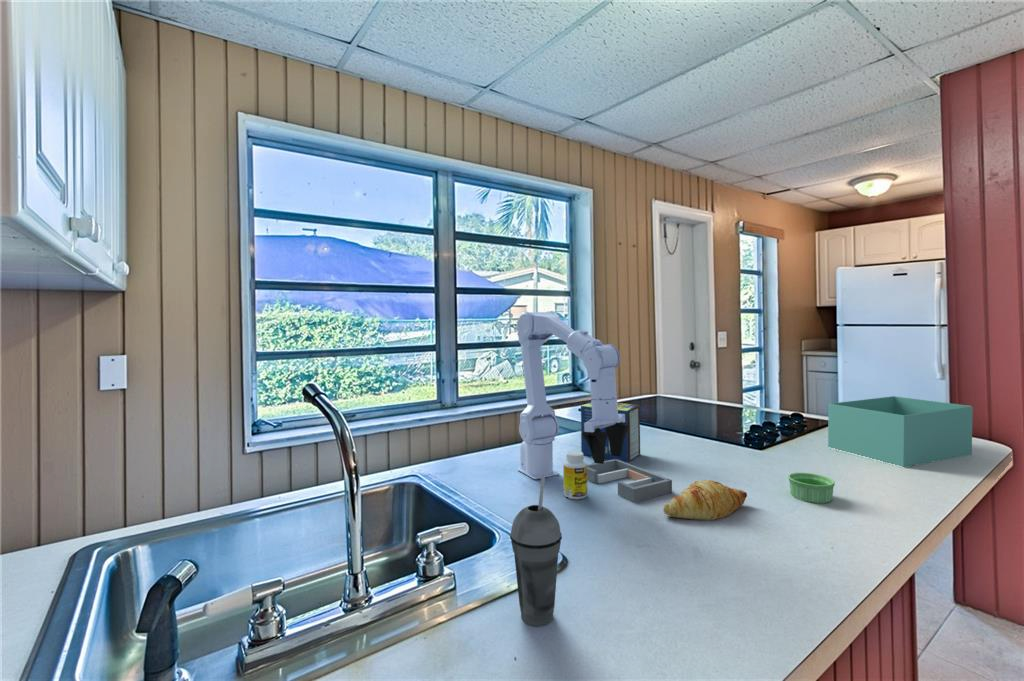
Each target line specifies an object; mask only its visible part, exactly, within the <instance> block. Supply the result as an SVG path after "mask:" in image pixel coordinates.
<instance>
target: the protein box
mask: <svg viewBox="0 0 1024 681" xmlns="http://www.w3.org/2000/svg"><path fill="white" fill-rule="evenodd" d="M617 406H618V414H625V422H624V423H623V424H629V429H628V431H627V433H626V435H625V438H624V442H623V448H622V454H621V456H612V454H611V450H610V444H609V439H608V436H607V439H606V444H605V460H608V459H609V460H613V459H618V460H621V461H623V462H626V463H628V464H629V463H630V462H632V460H634V459H635V458H637V457H638V456H640V455H641V422H640V421H641V418H640V417H641V416H640V415H641V413H640V412H641V410H640V404H636V403H635V404H633V403H622V402H617ZM590 419H592V404H591V401H590V402H587V403H585V404H582V405H580V445H581V446H580V448H581V450H580V452H582V453H583V454H584V456H585V455H588V456H587V457H591V456H592V453H591V451H590V448H589V445H588V443H587V441H586V440H585V438H584V437H583V435H582V431H583V430H584V423H586V422H588V421H589V420H590ZM600 431H602V432H606V430H605V428H601V429H600Z"/></svg>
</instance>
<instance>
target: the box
mask: <svg viewBox="0 0 1024 681" xmlns="http://www.w3.org/2000/svg"><path fill="white" fill-rule="evenodd" d="M827 409H828V415H827V417H828V422H827V425H828V426H827V430H828V431H827V434H828V436H827V438H828V440H827V448H828V447H831V448H835V449H838V450H842V451H846V452H850V453H854V454H857V455H861V456H865V457H869V458H872V459H876V460H880V461H883V462H887V463H891V464H895V465H899V466H902V467H906V466H910V467H912V466H911V465H915V466H917V465H916V464H920V465H923V464H922V463H925V464H928V463H927V462H930V463H933V462H932V461H935V462H938V461H937V460H940V461H944V460H943V459H945V460H949V459H954V458H959V457H963V456H969V455H972V454H973V413H974V412H973V411H974V410H973V406H971V405H966V404H965V405H964V404H959V403H952V402H951V403H950V402H943V401H936V400H935V401H933V400H925V399H918V398H911V397H903V396H895V395H893V396H892V395H891V396H885V397H876V398H868V399H867V398H866V399H860V400H859V399H858V400H849V401H840V402H832V403H831V402H829V403H828V408H827ZM902 467H901V468H902ZM906 468H907V467H906Z"/></svg>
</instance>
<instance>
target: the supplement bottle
mask: <svg viewBox="0 0 1024 681" xmlns="http://www.w3.org/2000/svg"><path fill="white" fill-rule="evenodd" d="M584 456H585V455H584V454H583V453H582V452H581V451H579V450H571V451H567V452H566V459H565V460H564V461H563V463H562V464H563V467H562V468H563V495H564V497H566V498H567V497H568V499H571V500H581V499H585V498H586V497H587V495H588V480H587V465H588V463H587V461H585V459H584V458H585V457H584Z"/></svg>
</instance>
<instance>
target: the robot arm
mask: <svg viewBox="0 0 1024 681" xmlns="http://www.w3.org/2000/svg"><path fill="white" fill-rule="evenodd" d="M516 329H517V337H518V343H519V344H520V349H521V350H520V351H521V357H522V358H521V360H522V368H523V376H524V378H523V379H524V385H525V386H524V387H525V395H526V403H527V404H526V405H527V406H526V407H525V408H524V410H523V411H522V412H520V414H519V425H518V432H519V436H520V437H521V439H522V440H523V441H522V442H521V445H520V447H519V451H520V453H519V454H520V456H519V457H520V467H518V468H517V471H519V472H520V473H522V474H524V475H526V476H527V477H530V478H531V479H532V480H539V479H540V480H541V477H542V475H545V478H549V477H554V476H559V475H560V471H557V470H555V469H553V468H554V466H553V465H554V458H553V456H554V455H553V452H554V451H553V449H554V448H553V445H554V444H553V441H555V440H556V439H555V437H556V436H558V434H559V431H560V425H559V421H558V419H557V416H556V410H555V409H553V408H552V407H551V406H550V405H548V403H547V394H546V386H545V377H544V369H543V368H544V367H543V360H542V352H541V350H542V346H543V345H544V343H546V342H547V341H548V340H550V339H551V338H552V337H553V336H554V337H557V338H558V339H560V340H561V341H563V342H565V343H566V347H567V350H569V352H571V353H573V355H575V356H576V357H578V358H579V359H580V360H582V363H583V365H584V366H583V367H584V368H585V370H586V373H587V377H588V380H589V384H590V385H589V386H590V387H589V388H590V402H591V404H592V419H590V420H589V421H588V422H586V423H584V430H583V431H582V435H583V437H584V438H585V440H586V441H587V443H588V445H589V448H590V451H591V453H592V457H591V458H592V459H593V463H599V464H603V463H604V461H606V459H605V444H606V439H607V436H608V439H609V444H610V450H611V454H612V456H621V454H622V448H623V442H624V438H625V435H626V433H627V431H628V429H629V424H623V423H624V422H625V414H618V406H617V403H618V394H617V377H616V369H617V368H618V367H619V364H620V361H621V356H620V351H619V349H618V348H616V347H615V345H614V344H612V343H611V344H610V343H607V344H603V342H602V341H601V340H600V339H596V338H594V337H593V336H591V335H590V334H589V331H588V330H586V329H577V330H574V329H573V328H572V327H571V326H569V325H568V324H567V323H565V321H563V320H562V319H561V317H560V315H559V314H557V313H555V312H554V311H523V312H521V314H520V315H519V317H518V320H517V322H516ZM601 428H605V430H606V432H602V431H600V429H601Z"/></svg>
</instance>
